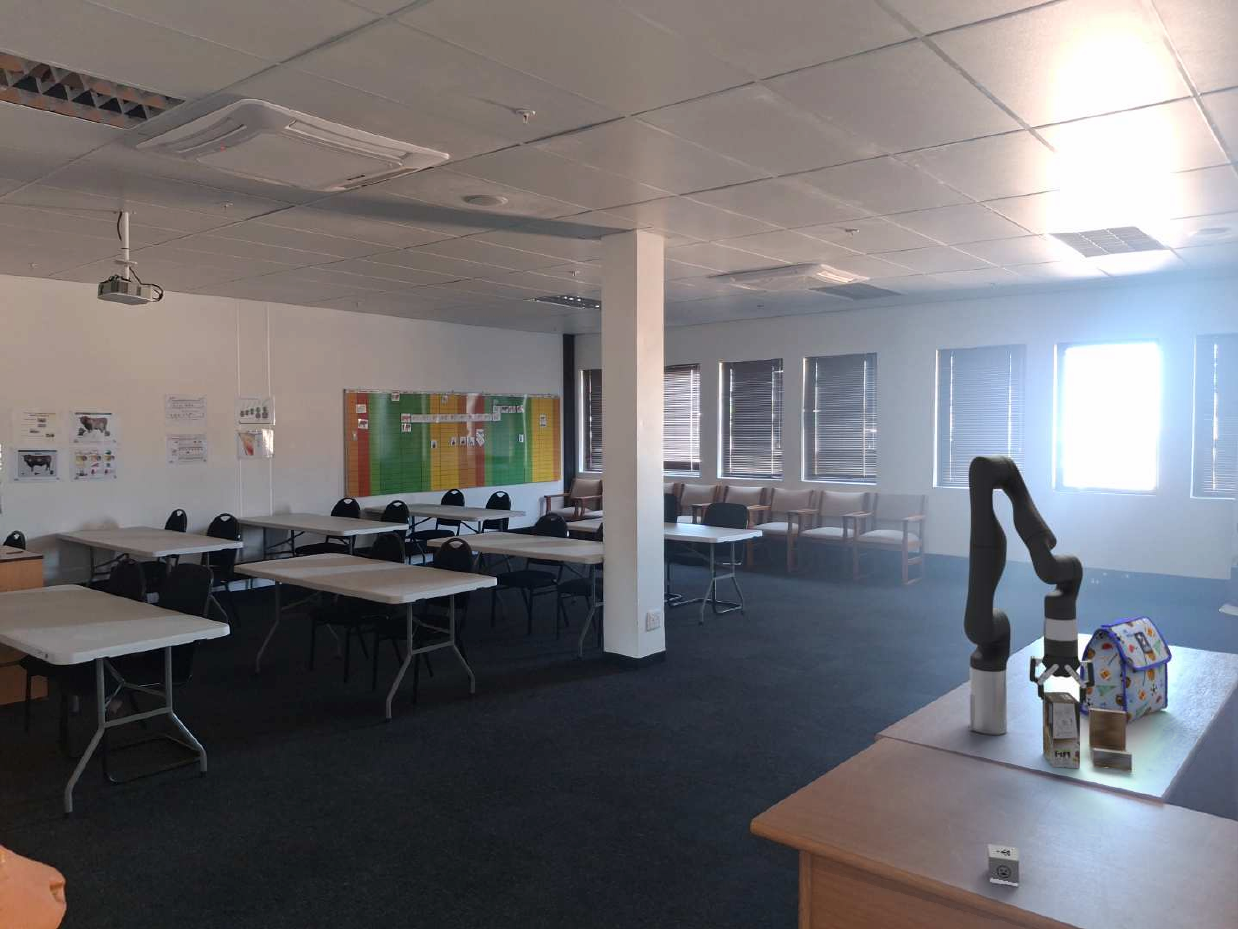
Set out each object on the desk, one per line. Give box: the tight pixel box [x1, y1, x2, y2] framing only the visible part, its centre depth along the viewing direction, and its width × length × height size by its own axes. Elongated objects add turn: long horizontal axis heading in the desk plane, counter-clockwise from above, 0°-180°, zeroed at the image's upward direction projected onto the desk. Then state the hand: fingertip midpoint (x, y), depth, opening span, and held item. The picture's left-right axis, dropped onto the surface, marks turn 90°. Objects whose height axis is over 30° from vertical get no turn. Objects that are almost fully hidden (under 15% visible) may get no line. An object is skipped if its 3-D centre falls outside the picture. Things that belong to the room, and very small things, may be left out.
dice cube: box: [987, 843, 1020, 884], centre depth 160 cm, size 5×5×5 cm
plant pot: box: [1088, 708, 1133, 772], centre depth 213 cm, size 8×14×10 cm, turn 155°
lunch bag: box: [1078, 615, 1173, 724], centre depth 244 cm, size 23×17×27 cm
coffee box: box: [1042, 691, 1081, 769], centre depth 212 cm, size 9×6×16 cm
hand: (1061, 700), depth 212 cm, fingers open, 8 cm apart
